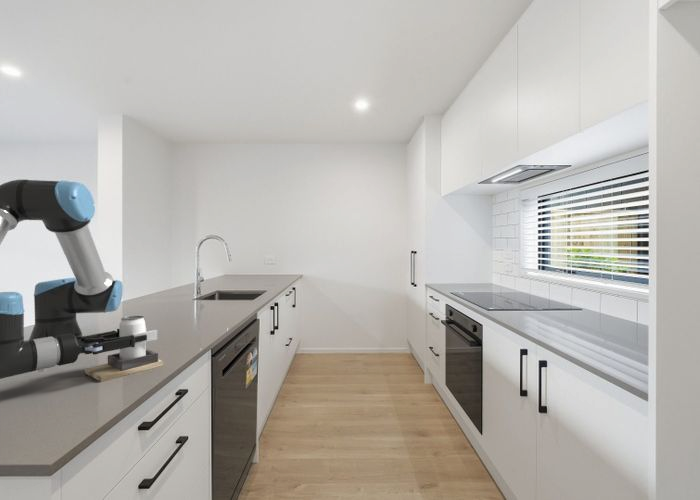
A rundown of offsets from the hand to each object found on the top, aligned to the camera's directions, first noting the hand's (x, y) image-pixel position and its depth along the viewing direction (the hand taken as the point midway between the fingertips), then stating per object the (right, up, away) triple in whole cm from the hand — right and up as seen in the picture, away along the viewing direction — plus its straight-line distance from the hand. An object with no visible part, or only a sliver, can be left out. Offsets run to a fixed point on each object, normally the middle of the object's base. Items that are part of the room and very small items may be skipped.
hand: (151, 332), depth 109 cm
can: (-3, -7, -4) cm, 8 cm away
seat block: (-4, -9, -6) cm, 11 cm away
